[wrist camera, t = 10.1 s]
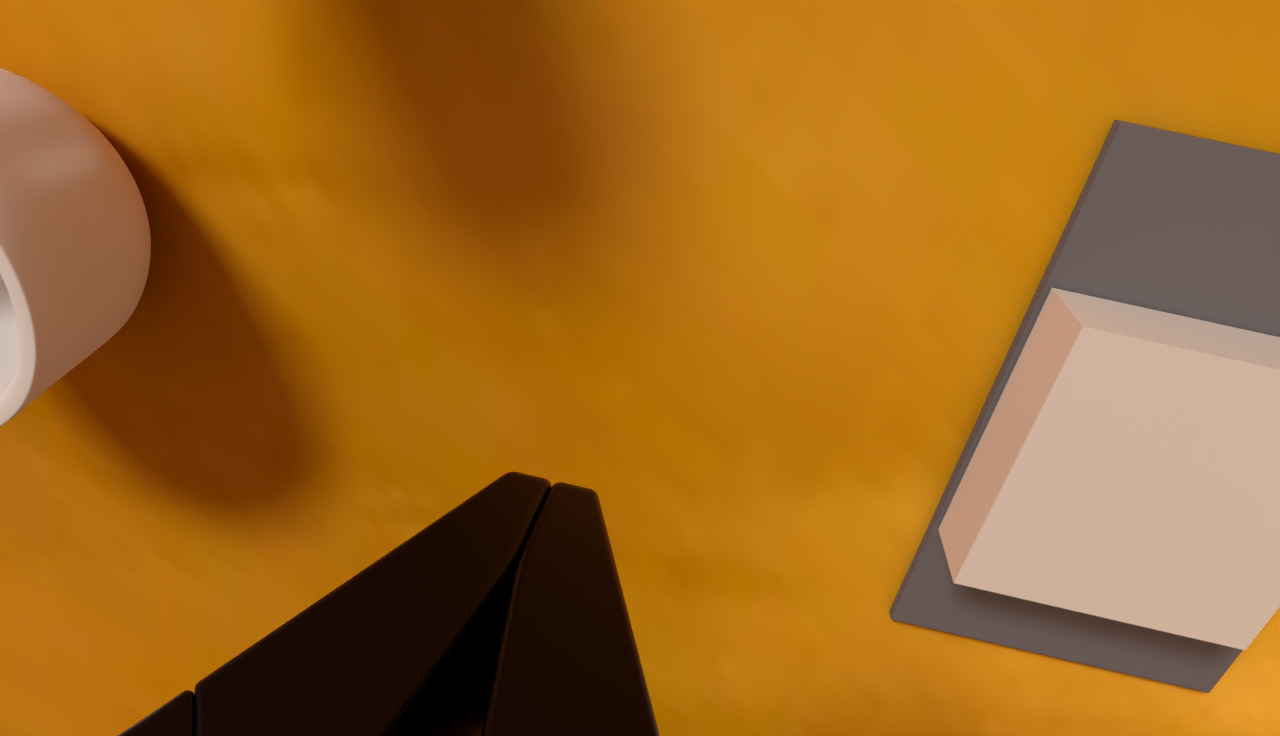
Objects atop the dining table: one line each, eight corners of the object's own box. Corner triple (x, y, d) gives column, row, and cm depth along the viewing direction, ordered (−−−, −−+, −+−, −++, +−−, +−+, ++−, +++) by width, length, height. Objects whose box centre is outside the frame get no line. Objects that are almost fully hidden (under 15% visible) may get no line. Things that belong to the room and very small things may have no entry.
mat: (1204, 684, 23) (1209, 692, 23) (889, 611, 23) (890, 618, 23) (1567, 214, 16) (1581, 218, 16) (1115, 120, 16) (1120, 123, 16)
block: (937, 528, 21) (1204, 588, 21) (953, 583, 20) (1245, 650, 19) (1051, 286, 18) (1370, 356, 18) (1082, 327, 16) (1439, 404, 16)
